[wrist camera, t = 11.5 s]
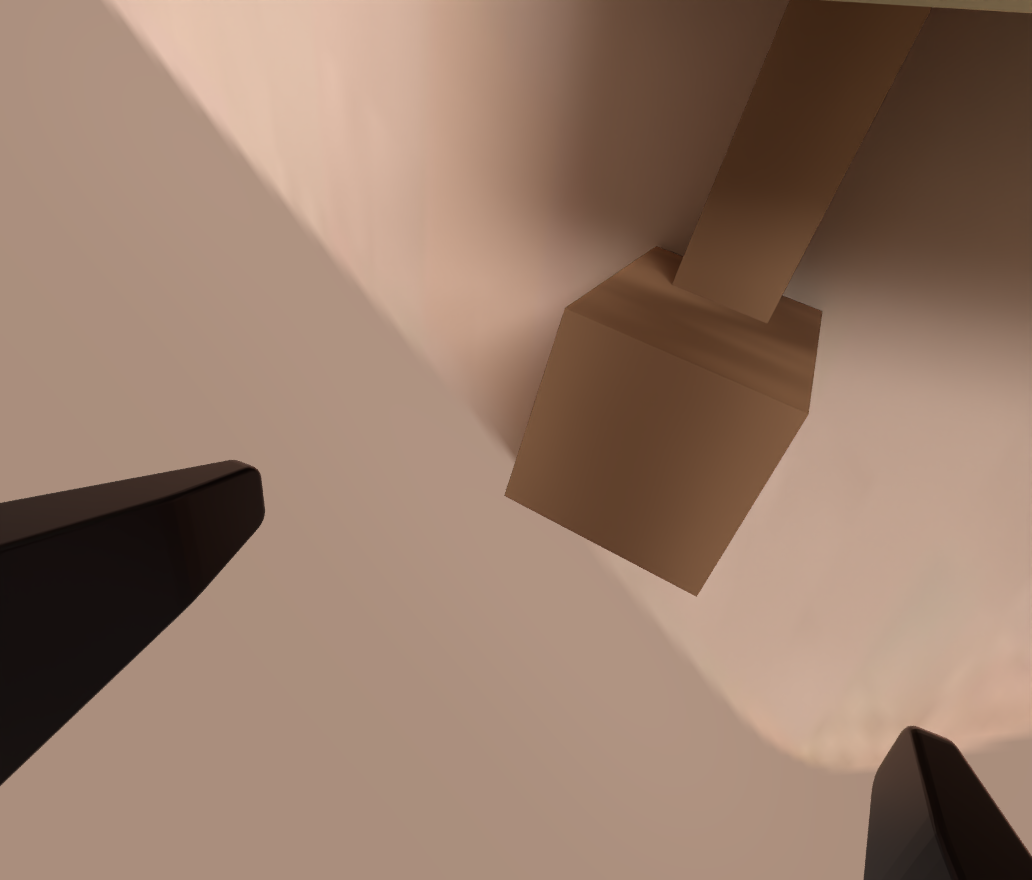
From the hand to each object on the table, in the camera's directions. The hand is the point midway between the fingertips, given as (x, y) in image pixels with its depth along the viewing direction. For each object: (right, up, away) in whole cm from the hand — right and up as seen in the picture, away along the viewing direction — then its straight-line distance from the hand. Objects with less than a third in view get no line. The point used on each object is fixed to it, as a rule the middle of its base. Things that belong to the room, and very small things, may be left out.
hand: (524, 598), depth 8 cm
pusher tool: (+6, +8, +5) cm, 11 cm away
